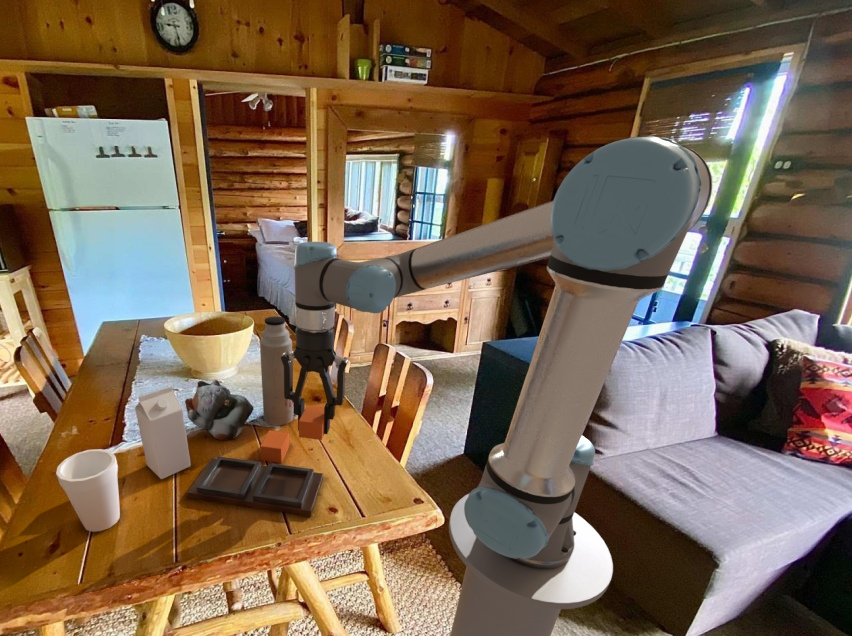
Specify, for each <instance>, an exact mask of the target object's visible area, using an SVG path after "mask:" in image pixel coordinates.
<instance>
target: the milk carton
mask: <svg viewBox="0 0 852 636" xmlns="http://www.w3.org/2000/svg"><path fill="white" fill-rule="evenodd" d="M138 401H139V402H138V403H137V405H135V407H134V410H135V414H136V415H135V416H136V419H137V424H138V429H139V434H140V440H141V443H142V449H143V454H144V458H145V459H144V460H145V463H146V466H147V467H148V468H149V469H150V470H151V471H152V472H153V473H154V474H155V475H156V476H157V477H158V478H159V479H160V480H164V479H166V478H168V477H170V476H173V475H175V474H177V473H179V472H181V471H183V470H186V469H187V468H190V467H191V465H192V464H191V458H190V451H189V443H188V437H187V431H186V430H187V429H186V424H185V417H184V411H183V407H182V405H181V403H180V401H179V399H178V398H177V395H176V394H175V393H174V390H173V386H168V387H165V388H162V389H159V390H156V391H152V392H150V393H146V394H143V395H139V396H138Z"/></svg>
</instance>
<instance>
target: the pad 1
mask: <svg viewBox="0 0 852 636" xmlns="http://www.w3.org/2000/svg"><path fill="white" fill-rule="evenodd" d="M289 448H290V432H288V431H287V432H285V431H278V430H270V429H269V430H268V431H267V433H266V435H265V437H264V439H263V441H262V442H261V444H260V446H259V452H260V461H262V462H270V463H276V464H282V463H283V461H284V459H285V457H286V454H287V453H288V450H289Z"/></svg>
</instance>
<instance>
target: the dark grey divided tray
mask: <svg viewBox="0 0 852 636" xmlns="http://www.w3.org/2000/svg"><path fill="white" fill-rule="evenodd" d="M323 480H324V473H321V472H315V469H313V468H307V467H302V466H300V467H299V466H293V465H286V464H280V463H272V462H270V463H269V464H268V465H263V464H262V462H261V461H257V460H250V459H249V460H248V459H241V458H233V457H225V456H219V455H218V456H217V457H216V458H213V457H212V458H211V459H210V460H209V461H208V462H207V464H206V465H205V467H204V468H203V469H202V471H201V472H200V473H199V475H198V476H197V477H196V478H195V480H194V481H193V483H192V484H191V485H190V487H189V488H188V489H187V491H186V496H187V499H193V500H199V501H205V502H211V503H220V504H223V505H232V506H238V507H244V508H252V509H257V510H258V509H259V510H265V511H271V512H278V513H284V514H285V513H286V514H290V515H299V516H304V517H312V516H313V512H314V509H315V505H316V503H317V499H318V496H319V493H320V490H321V487H322V485H323Z"/></svg>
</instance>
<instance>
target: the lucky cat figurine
mask: <svg viewBox="0 0 852 636" xmlns="http://www.w3.org/2000/svg"><path fill="white" fill-rule="evenodd" d="M184 404H185V408H186V412H187V415H186V416H187V418H188V419H189V421H190V422H192V424H194V425H195V426H197V427H199V428H201V429H203V430H205V432H208V433H209V434H211V435H212V436H213V438H214V439H216V440H217V441H228V440H233V439H234V438H237V437H238V436H239V435H240V434H241V433H242V432H243V429H244V426H245V424H246V423H247V421H248V419H249V418H250V416H251V415H252V413H253V411H254V408H255V407H254V405H253V404H252V403H251V402H250V401H249V400H248V399H247V397H245V396H243V395H241V394H234V393H233V394H231V391H230V389H229V388H228V387H226V386H225V385H222V384H221V383H220V381H219V380H218V379H213V380H212V382H211V383H208V382H206V381H203V380H199V381H198V382H197V386H196V389H195V393H194V395H193V397H190V398H186V399H185V400H184Z"/></svg>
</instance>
